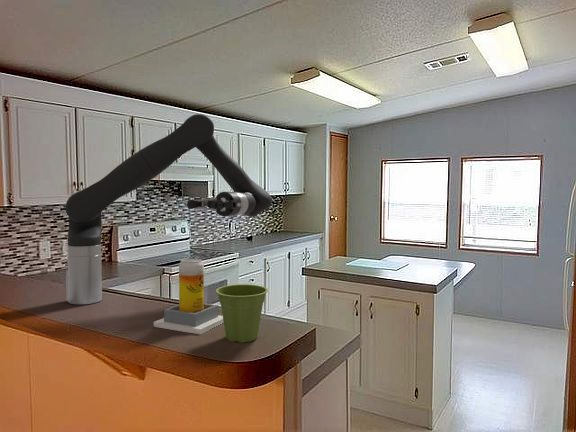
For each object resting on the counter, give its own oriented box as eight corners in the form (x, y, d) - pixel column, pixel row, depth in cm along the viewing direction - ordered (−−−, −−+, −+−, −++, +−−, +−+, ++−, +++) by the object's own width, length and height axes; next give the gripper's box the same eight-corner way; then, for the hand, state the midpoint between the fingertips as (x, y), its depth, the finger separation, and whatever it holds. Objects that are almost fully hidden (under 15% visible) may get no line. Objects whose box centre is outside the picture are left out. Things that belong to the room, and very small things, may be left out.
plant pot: (204, 340, 99) (204, 290, 99) (239, 327, 109) (239, 282, 109) (244, 350, 93) (245, 298, 92) (277, 336, 102) (278, 288, 102)
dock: (153, 326, 109) (153, 309, 109) (184, 314, 120) (183, 299, 120) (200, 334, 103) (200, 316, 103) (227, 321, 114) (227, 305, 114)
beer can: (198, 323, 108) (197, 262, 107) (175, 321, 109) (174, 261, 108) (207, 316, 114) (207, 259, 113) (185, 314, 115) (185, 258, 114)
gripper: (212, 191, 140) (180, 191, 125) (251, 192, 134) (222, 191, 119) (212, 215, 140) (180, 217, 125) (251, 216, 134) (222, 219, 119)
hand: (200, 204), depth 122 cm, fingers open, 8 cm apart
